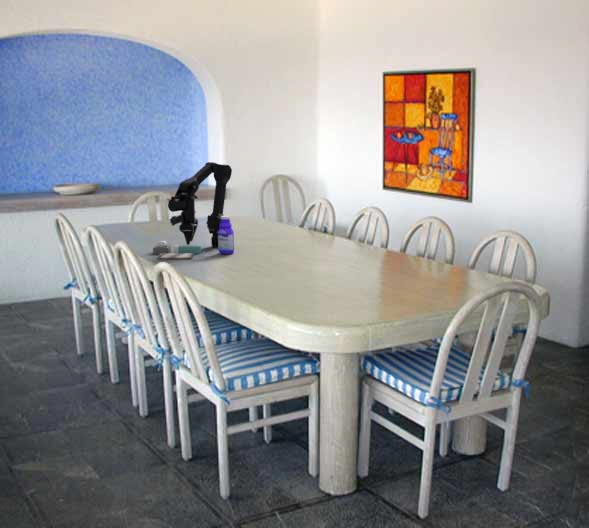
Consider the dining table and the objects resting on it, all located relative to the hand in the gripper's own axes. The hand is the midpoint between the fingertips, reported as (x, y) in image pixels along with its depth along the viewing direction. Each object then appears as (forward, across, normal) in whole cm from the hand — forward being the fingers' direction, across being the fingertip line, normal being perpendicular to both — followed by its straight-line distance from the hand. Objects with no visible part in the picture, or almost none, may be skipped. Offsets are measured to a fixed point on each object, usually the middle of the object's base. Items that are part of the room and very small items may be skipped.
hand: (189, 242), depth 355 cm
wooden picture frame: (+5, +9, -5) cm, 11 cm away
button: (+2, -1, -13) cm, 13 cm away
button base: (+5, -1, -13) cm, 14 cm away
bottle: (+5, +1, +17) cm, 18 cm away
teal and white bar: (+5, 0, 0) cm, 5 cm away
